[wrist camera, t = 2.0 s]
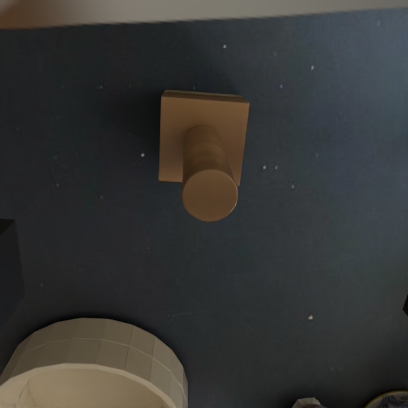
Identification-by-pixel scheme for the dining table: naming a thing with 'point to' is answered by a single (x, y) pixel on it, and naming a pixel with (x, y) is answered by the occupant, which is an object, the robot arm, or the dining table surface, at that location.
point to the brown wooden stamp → (203, 149)
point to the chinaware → (383, 404)
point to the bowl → (93, 368)
